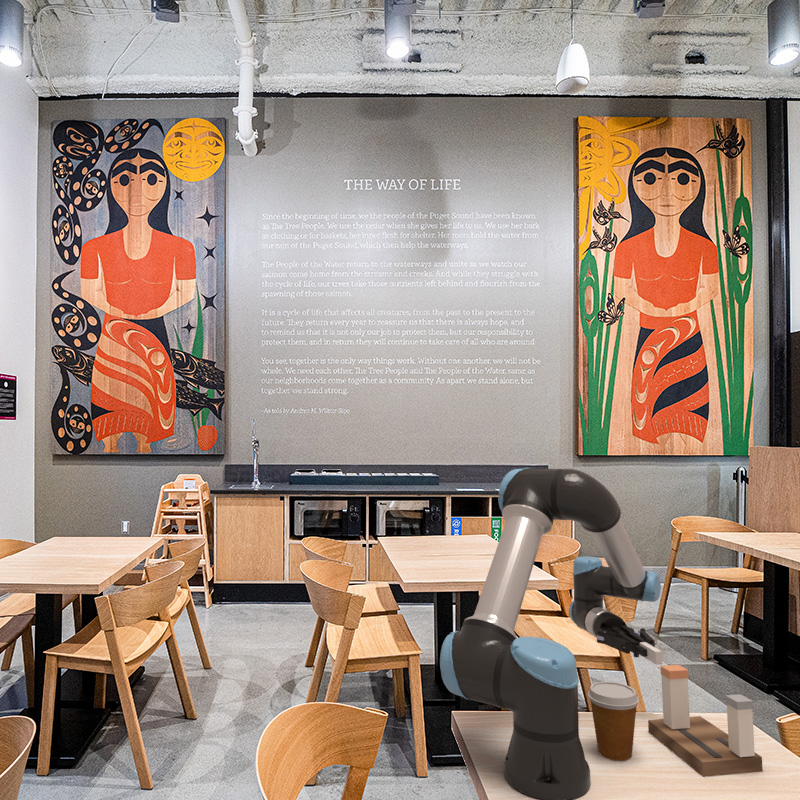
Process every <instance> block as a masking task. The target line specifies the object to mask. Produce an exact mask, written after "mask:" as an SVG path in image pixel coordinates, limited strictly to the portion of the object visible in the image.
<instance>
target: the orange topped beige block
mask: <svg viewBox="0 0 800 800" xmlns="http://www.w3.org/2000/svg"><path fill="white" fill-rule="evenodd" d="M660 674H661V691H662V692H661V693H662V697H661V698H662V719H663V723H664V724H666V725H667V726H668V727H670V728H671V729H682V728H690V717H691V716H690V715H691V714H690V699H689V697H690V694H689V677H690V676H689V670H688V669H687V668H685V667H684V666H682V665H680V664H669V665H660Z"/></svg>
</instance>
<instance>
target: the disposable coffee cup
mask: <svg viewBox="0 0 800 800" xmlns="http://www.w3.org/2000/svg"><path fill="white" fill-rule="evenodd" d="M587 696H588V698H589V701H590V707H591V712H592V717H593V718H592V720H593V724H594V725H593V726H594V732H595V733H594V734H595V739H596V744H597V752H598V753H599V755H600V754H601V755H600V756H602V757H604V758H605V759H607V760H612V761H617V762H618V761H619V762H620V761H621V762H622V761H628V760H630V759H632V757H633V748H634V737H635V736H634V735H635V725H636V714H637V706H638V704H639V701H640V699H639V696H638V695H637V691H636V690H635V689H634V688H633V687H631V686H629V685H628V684H624V683H620V682H616V681H615V682H613V681H599V682H598V681H597V682H594V683H592V684H591V685H590V686H589V691H588V692H587Z"/></svg>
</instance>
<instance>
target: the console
mask: <svg viewBox="0 0 800 800" xmlns="http://www.w3.org/2000/svg"><path fill="white" fill-rule="evenodd" d="M647 724H648V725H647V726H648V733H649V734H650V735H651V736H652V735H653V736H652V737H654V739H656V740H657V741H658V742H660V743H661V744H662V745H664V747H666V748H667V749H668V750H670V751H671V752H672V753H673V754H674V755H676V756H677V757H678V758H680V759H681V760H682V761H683V762H685V764H687V765H688V766H689V767H691V768H692V769H693V770H694V771H695V772H697V773H698V774H699V775H701V776H702V777H714V776H723V775H725V776H727V775H734V774H735V775H736V774H745V773H747V774H748V773H757V772H764V771H763V756H761V755H760V754H758V753H757V752H755V756H748V757H739V756H738V755H736V754H735V753H733V752H732V751H730V750H729V740H728V733H726V732H725V731H723V730H722V729H720V727H719V728H718V727H717V726H716V725H714V724H713V723H711V722H710V721H708V720H706V719H705V718H704V717H702V716H700V715H697V716H690V728H682V729H671V728H670V727H668V726H667V725H666V724H664V723H663V718H657V719H648V720H647Z"/></svg>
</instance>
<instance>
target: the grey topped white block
mask: <svg viewBox="0 0 800 800" xmlns="http://www.w3.org/2000/svg"><path fill="white" fill-rule="evenodd" d="M725 704H726V715H727V717H726V718H727V734H728V740H729V750H730V751H732V752H733V753H735V754H736V755H738V756H739V757H748V756H755V753H756V752H755V750H756V749H755V735H754V732H755V731H754V716H753V709H754V700H752V699H750V698H748V697H746V696H745V695H742V694H728V695H727V694H726V695H725Z"/></svg>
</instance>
